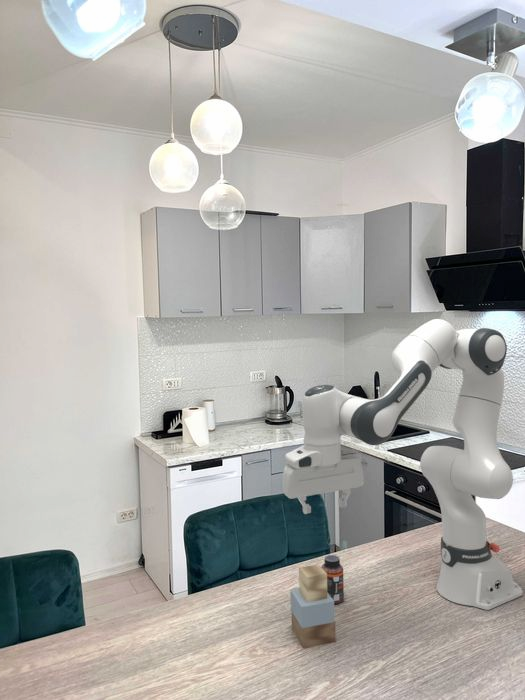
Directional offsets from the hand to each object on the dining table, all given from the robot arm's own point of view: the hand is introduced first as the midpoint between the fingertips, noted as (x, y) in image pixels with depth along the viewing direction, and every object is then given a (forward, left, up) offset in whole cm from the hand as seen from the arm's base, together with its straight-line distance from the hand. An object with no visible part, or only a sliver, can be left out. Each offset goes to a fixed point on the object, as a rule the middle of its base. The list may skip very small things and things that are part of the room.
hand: (325, 509), depth 125 cm
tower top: (+5, +2, -24) cm, 25 cm away
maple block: (+4, +2, -19) cm, 20 cm away
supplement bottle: (-7, -11, -29) cm, 32 cm away
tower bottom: (+5, +2, -29) cm, 30 cm away
